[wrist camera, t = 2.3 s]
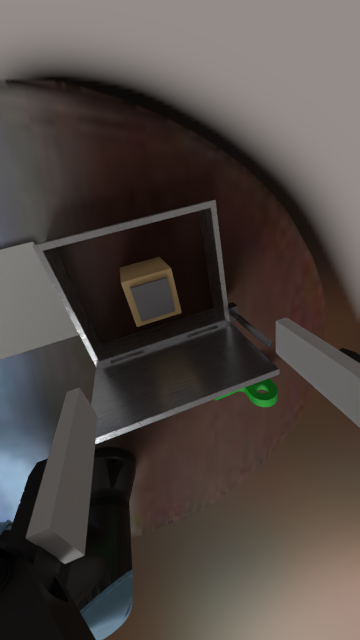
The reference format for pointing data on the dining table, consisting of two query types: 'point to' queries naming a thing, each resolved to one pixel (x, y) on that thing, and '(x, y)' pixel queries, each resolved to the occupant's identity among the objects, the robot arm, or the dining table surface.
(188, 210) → the case
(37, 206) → the dining table surface
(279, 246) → the dining table surface
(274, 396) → the mechanical part
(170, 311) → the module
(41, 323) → the pad
